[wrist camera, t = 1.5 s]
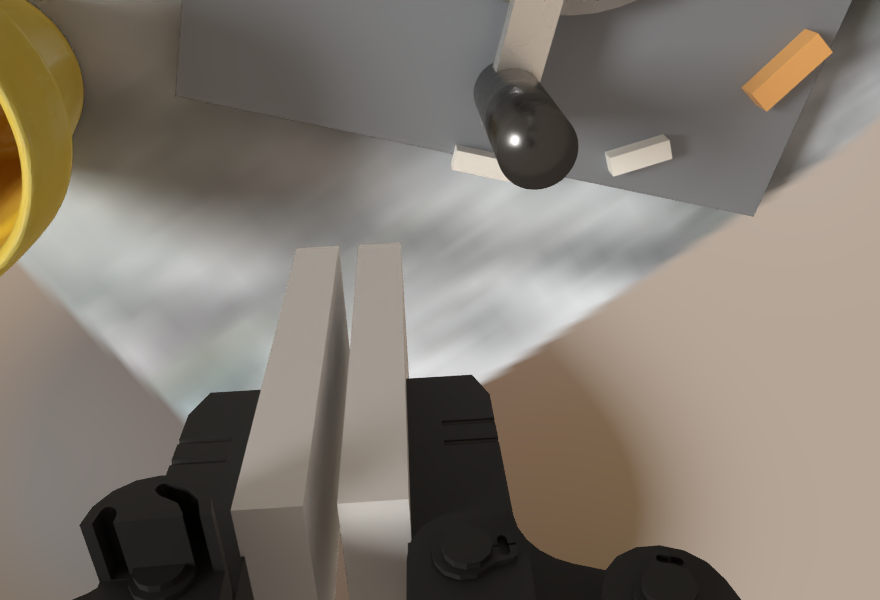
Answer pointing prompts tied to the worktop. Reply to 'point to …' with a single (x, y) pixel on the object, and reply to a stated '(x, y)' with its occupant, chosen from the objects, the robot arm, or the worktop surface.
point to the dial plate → (564, 78)
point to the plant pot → (34, 124)
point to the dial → (529, 94)
